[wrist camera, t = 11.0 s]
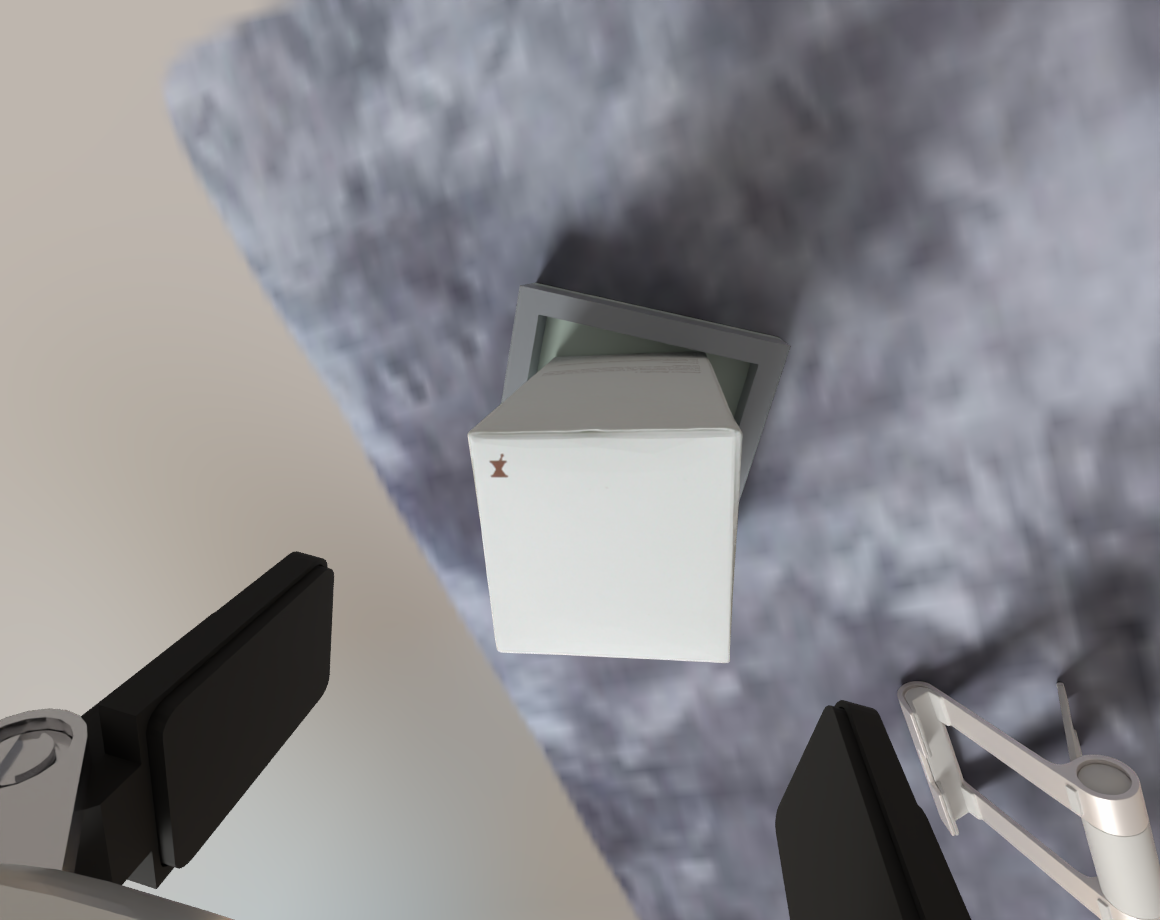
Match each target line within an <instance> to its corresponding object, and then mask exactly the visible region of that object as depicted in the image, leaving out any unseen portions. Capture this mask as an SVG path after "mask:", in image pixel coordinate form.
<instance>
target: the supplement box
mask: <svg viewBox="0 0 1160 920" xmlns="http://www.w3.org/2000/svg"><path fill="white" fill-rule="evenodd" d="M742 437H743V434H742V432H741V430H740V428H739V426H738V425H737V423H736V421H735V420H734V418H733V416H732V413H731V411H730V409H729V407H728V404H727V401H726V399H725V397H724V394H723V392H722V389H721V386H720V384H719V382H718V379H717V377H716V374H715V372H714V370H713V367H712V365H711V363H710V362H709V359H708V357H707V355H706V353H705V352H667V353H638V354H613V355H588V356H565V357H554V358H553V359H552V360H551V361H550V362H549V363H548V364H546V365H545V366H544V367H543V368H542V369H541V370H540V371H538V372H537V373H536V374H535V375H534V376H533V377H531V378H530V379H529V380H528V381H527V382H526V383H524V384H523V385H522V386H521V387H520V388H519V389H518V390H516V391H515V392H514V393H513V394H512V395H511V396H510V397H509V398H507V399H506V400H505V401H504V402H503V403H502V404H500V405H499V406H498V407H497V408H496V409H495V410H494V411H492V412H491V413H490V414H489V415H488V416H487V417H486V418H484V419H483V420H482V421H481V422H480V423H479V424H478V425H476V426H475V427H474V428H473V429H472V430H471V431H470V432H469V433H468V441H469V448H470V454H471V461H472V467H473V474H474V481H475V488H476V495H477V502H478V508H479V515H480V522H481V530H482V539H483V547H484V554H485V562H486V571H487V579H488V586H489V594H490V602H491V610H492V617H493V626H494V634H495V640H496V646H497V650H498V651H499V652H504V653H532V654H556V655H578V656H597V657H619V658H640V659H662V660H680V661H703V662H718V663H727V662H729V661H730V637H731V619H732V599H733V583H734V567H735V552H736V536H737V521H738V505H739V488H740V470H741V452H742Z"/></svg>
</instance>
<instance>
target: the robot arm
mask: <svg viewBox="0 0 1160 920" xmlns="http://www.w3.org/2000/svg"><path fill="white" fill-rule="evenodd" d="M333 585H334V572H333V570H332V569H329V568H328V567H327V562H326V560H324V559H323V558H319V557H315V556H312V555H308V554H304V553H301V552H292V553H291V554H289V555H288V556H286V557H285V558H284V559H283V560H281V561H280V562H279V563H277V564H276V565H275V566H274V567H273V568H271V569H270V570H268V571H267V572H266V573H265V574H263V575H262V576H261V577H260V578H258V579H257V580H256V581H254V582H253V583H252V584H251V585H249V586H248V587H247V588H246V589H244V590H243V591H242V592H240V593H239V594H238V595H237V596H235V597H234V598H233V599H231V600H230V601H229V602H228V603H226V604H225V605H224V606H223V607H221V608H220V609H219V610H217V611H216V612H215V613H213V614H211V615H210V616H209V617H208V618H206V619H205V620H204V621H202V622H201V623H200V624H199V625H197V626H196V627H195V628H194V629H192V630H191V631H190V632H188V633H187V634H186V635H185V636H183V637H182V638H181V639H180V640H178V641H177V642H176V643H174V644H173V645H172V646H170V647H169V648H168V649H167V650H165V651H164V652H163V653H161V654H160V655H159V656H158V657H156V658H155V659H154V660H153V661H151V662H150V663H149V664H147V665H146V666H145V667H144V668H142V669H141V670H140V671H138V672H137V673H136V674H135V675H134V676H132V677H131V678H130V679H128V680H127V681H126V682H124V683H123V684H122V685H121V686H119V687H118V688H117V689H115V690H114V691H113V692H112V693H110V694H109V695H108V696H107V697H105V698H104V699H103V700H102V701H100V702H99V703H98V704H96V705H95V706H94V707H92V709H90V710H89V711H87V712H86V713H85V714H84V715H82V716H81V717H80V716H79V715H77V714H75V713H72V712H70V711H67V710H60V709H41V710H32V711H27V712H23V713H20V714H16V715H12V716H9V717H6V718H4V719H1V720H0V920H233V919H230V918H227V917H224V916H221V915H218V914H215V913H212V912H209V911H205V910H202V909H199V908H195V907H192V906H189V905H185V904H182V903H179V902H175V901H172V900H169V899H165V898H162V897H159V896H155V895H152V894H149V893H145V892H142V891H138V890H135V889H132V888H129V887H125V886H122V884H123V883H124V882H125V881H126V880H130V881H133V882H136V883H140V884H142V885H146V886H148V887H152V888H154V889H157V888H158V887H159V885H160V884H161V883H162V882H163V881H164V879H165V878H166V877H167V876H168V874H169V873H170V872H171V871H172V870H173V868H174V867H176V868H182V867H184V866H185V865H186V864H188V863H189V861H190V860H191V859H192V858H193V857H194V856H195V855H196V853H197V852H198V851H199V850H200V848H201V847H202V846H203V845H204V843H205V842H206V841H207V840H208V838H209V837H210V836H211V835H212V833H213V832H214V831H215V830H216V828H217V827H218V826H219V825H220V823H221V822H222V821H223V820H224V818H225V817H226V816H227V815H228V813H229V812H230V811H231V810H232V808H233V807H234V806H235V805H236V803H237V802H238V801H239V800H240V798H241V797H242V796H243V794H244V793H245V792H246V791H247V790H248V788H249V787H250V785H252V783H253V782H254V781H255V779H256V778H257V777H258V776H259V775H260V773H261V772H262V771H263V769H264V768H265V767H266V766H267V765H268V763H269V762H270V761H271V759H272V758H273V757H274V756H275V755H276V753H277V752H278V751H279V749H280V748H281V747H282V746H283V745H284V743H285V742H286V741H287V739H288V738H289V737H290V736H291V735H292V733H293V732H294V731H295V730H296V728H297V727H298V726H299V724H300V723H301V722H302V721H303V719H304V718H305V717H306V716H307V714H308V713H309V712H310V710H311V709H312V708H313V707H314V706H315V704H316V703H317V702H318V701H319V699H320V698H321V697H322V695H323V694H324V692H325V690H326V687H327V685H328V681H329V675H330V651H331V631H332V608H333V587H334V586H333ZM775 828H776V836H777V842H778V848H779V854H780V860H781V867H782V873H783V879H784V885H785V891H786V897H787V903H788V910H789V916H790V920H971V918H970V916H969V913H968V911H967V909H966V906H965V904H964V902H963V899H962V897H961V895H960V893H959V890H958V888H957V886H956V883H955V881H954V879H953V876H952V874H951V872H950V869H949V867H948V865H947V862H946V860H945V858H944V855H943V853H942V851H941V849H940V846H939V844H938V842H937V839H936V837H935V835H934V832H933V830H932V828H931V825H930V823H929V821H928V819H927V817H926V815H925V813H924V812H923V810H922V808H920V807H919V806H918V805H917V802H916V800H915V798H914V795H913V793H912V791H911V788H910V786H909V783H908V781H907V779H906V776H905V774H904V772H903V769H902V767H901V765H900V762H899V760H898V758H897V755H896V753H895V751H894V748H893V746H892V743H891V741H890V739H889V736H888V734H887V732H886V729H885V727H884V725H883V722H882V720H881V718H880V715H879V714H878V712H877V711H876V710H875V709H873V708H870V707H866V706H862V705H859V704H855V703H851V702H848V701H844V700H840V701H839V702H837V703H836V705H835V706H827V707H825V709H824V710H823V712H822V715H821V717H820V719H819V721H818V723H817V725H816V727H815V730H814V732H813V734H812V736H811V738H810V740H809V742H808V745H807V747H806V749H805V751H804V753H803V755H802V757H801V760H800V762H799V764H798V766H797V768H796V770H795V772H794V774H793V777H792V779H791V781H790V783H789V785H788V787H787V789H786V792H785V794H784V796H783V798H782V800H781V802H780V804H779V807H778V809H777V814H776V821H775Z"/></svg>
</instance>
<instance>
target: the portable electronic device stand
mask: <svg viewBox="0 0 1160 920" xmlns="http://www.w3.org/2000/svg"><path fill="white" fill-rule="evenodd" d="M1057 688H1058V694H1059V701H1060V706H1061V712H1062V718H1063V723H1064V729H1065V734H1066V740H1067V745H1068V751H1069V757H1070V762H1069V763H1066V764H1054V763H1052V762H1049V761H1047V760H1046V759H1044V758H1042V757H1041V756H1039V755H1038V754H1036V753H1035V752H1033V751H1032V750H1030V749H1028V748H1027V747H1025V746H1024V745H1022V744H1021V743H1019V742H1018V741H1016V740H1015V739H1013V738H1012V737H1010V736H1009V735H1007V734H1006V733H1004V732H1003V731H1001V730H1000V729H998V728H996V727H995V726H993V725H992V724H990V723H989V722H987V721H986V720H984V719H983V718H981V717H980V716H978V715H977V714H975V713H974V712H972V711H971V710H969V709H968V708H966V707H964V706H963V705H961V704H960V703H958V702H957V701H955V700H954V699H952V698H951V697H949V696H948V695H946V694H945V693H943V692H942V691H940V690H939V689H937V688H935V687H934V686H932V685H931V684H929V683H926V682H921V681H913V682H908V683H906V684H904V685H902V686H901V687H900V688H899V690H898V692H897V696H898V699H899V702H900V705H901V708H902V711H903V714H904V716H905V719H906V722H907V725H908V728H909V730H910V733H911V736H912V739H913V742H914V744H915V747H916V750H917V753H918V756H919V759H920V761H921V764H922V767H923V770H924V773H925V775H926V778H927V781H928V784H929V787H930V790H931V792H932V795H933V798H934V801H935V804H936V806H937V809H938V812H939V815H940V818H941V819H942V821H943V822H944V824H945V825H946V827H947V828H948V830H949V831H950V833H951V834H952V836H954V835H955V833H956V835H958V834H959V831H958V828H957V825H956V822H955V821H956V820H957V819H959V818H960V817H962V816H964V815H965V814H967V813H968V812H970V813H971V814H972V815H974V816H975V817H976V818H978V819H980V820H984V821H985V822H986V823H987V824H988V825H990V826H991V827H992V828H993V829H994V830H995V831H997V832H998V833H999V834H1000V835H1001V836H1003V837H1004V838H1005V839H1006V840H1007V841H1009V842H1010V843H1011V844H1012V845H1013V846H1014V847H1016V848H1017V849H1018V850H1019V851H1020V852H1022V853H1023V854H1024V855H1025V856H1026V857H1027V858H1029V859H1030V860H1031V861H1032V862H1033V863H1035V864H1036V865H1037V866H1038V867H1039V868H1040V869H1042V870H1043V871H1044V872H1045V873H1046V874H1048V875H1049V876H1050V877H1051V878H1052V879H1054V880H1055V881H1056V882H1057V883H1058V884H1059V885H1061V886H1062V887H1063V888H1064V889H1065V890H1067V891H1068V892H1069V893H1070V894H1071V895H1072V896H1074V897H1075V898H1076V899H1077V900H1078V901H1080V902H1081V903H1082V904H1083V905H1084V906H1086V907H1087V908H1088V909H1089V910H1090V911H1092V912H1093V913H1094V914H1095V915H1096V916H1098V917H1099V918H1100V919H1101V920H1160V865H1159V861H1158V856H1157V852H1156V848H1155V844H1154V839H1153V835H1152V831H1151V827H1150V823H1149V819H1148V814H1147V810H1146V806H1145V802H1144V797H1143V793H1142V789H1141V785H1140V781H1139V778H1138V776H1137V774H1136V773H1135V772H1134V771H1133V770H1132V769H1131V768H1130V767H1129V766H1127V765H1126V764H1124V763H1123V762H1121V761H1119V760H1117V759H1114V758H1111V757H1108V756H1103V755H1085V756H1082V752H1081V748H1080V744H1079V740H1078V736H1077V732H1076V730H1074V728H1073V724H1072V720H1071V715H1070V710H1069V703H1068V698H1067V695H1066V691H1065V687H1064V684H1063V683H1057ZM945 725H947V726H953V727H954V728H956V729H957V730H959V731H960V732H961V733H963V734H964V735H966V736H967V737H968V738H970V739H971V740H973V741H974V742H975V743H977V744H978V745H980V746H981V747H982V748H984V749H985V750H987V751H988V752H989V753H991V754H992V755H994V756H995V757H997V758H998V759H999V760H1001V761H1002V762H1004V763H1005V764H1006V765H1008V766H1009V767H1011V768H1012V769H1013V770H1015V771H1016V772H1018V773H1019V774H1020V775H1022V776H1023V777H1025V778H1026V779H1027V780H1029V781H1030V782H1032V783H1033V784H1035V785H1036V786H1037V787H1039V788H1040V789H1042V790H1043V791H1044V792H1046V793H1047V794H1049V795H1050V796H1051V797H1053V798H1054V799H1056V800H1057V801H1059V802H1060V803H1062V804H1063V805H1064V806H1066V807H1067V808H1069V809H1070V810H1072V811H1073V812H1074V813H1076V814H1077V815H1079V816H1080V817H1081V819H1082V822H1083V826H1084V829H1085V833H1086V837H1087V840H1088V844H1089V848H1090V851H1091V855H1092V858H1093V862H1094V866H1095V869H1096V873H1097V877H1088V876H1085V875H1083V874H1082V873H1080V872H1078V871H1077V870H1076V869H1074V868H1073V867H1072V866H1071V865H1069V864H1068V863H1067V862H1066V861H1064V860H1063V859H1062V858H1061V857H1059V856H1058V855H1057V854H1056V853H1054V852H1053V851H1052V850H1051V849H1049V848H1048V847H1047V846H1046V845H1044V844H1043V843H1042V842H1041V841H1039V840H1038V839H1037V838H1035V837H1034V836H1033V835H1032V834H1030V833H1029V832H1028V831H1027V830H1025V829H1024V828H1023V827H1022V826H1020V825H1019V824H1018V823H1017V822H1015V821H1014V820H1013V819H1012V818H1010V817H1009V816H1008V815H1007V814H1005V813H1004V812H1003V811H1002V810H1000V809H999V808H998V807H997V806H995V805H994V804H993V803H992V802H990V801H989V800H988V799H987V798H985V797H984V796H983V795H982V794H980V793H979V792H978V791H977V790H975V789H974V788H973V787H972V786H970V785H969V784H968V783H967V782H965V780H964V779H963V776H962V773H961V770H960V767H959V764H958V761H957V759H956V756H955V753H954V750H953V747H952V744H951V741H950V738H949V735H948V732H947V729H946V726H945Z"/></svg>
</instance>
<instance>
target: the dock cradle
mask: <svg viewBox="0 0 1160 920" xmlns="http://www.w3.org/2000/svg"><path fill="white" fill-rule="evenodd" d="M789 349H790V346H789V345H788V344H787V343H785V342H784V341H783V340H782V339H780V338H779V337H776V336H772V335H767V334H763V333H758V332H754V331H749V330H745V329H740V328H736V327H731V326H727V325H722V324H718V323H713V322H709V321H704V320H700V319H696V318H691V317H687V316H682V315H678V314H673V313H669V312H664V311H660V310H655V309H651V308H646V307H642V306H637V305H633V304H628V303H624V302H619V301H615V300H611V299H606V298H602V297H597V296H593V295H588V294H584V293H579V292H575V291H570V290H566V289H561V288H557V287H552V286H548V285H543V284H539V283H532V284H526V285H520V288H519V295H518V301H517V307H516V314H515V320H514V326H513V332H512V339H511V345H510V351H509V358H508V364H507V370H506V377H505V383H504V389H503V396H502V402H501V404H502V403H503V402H504V401H505V400H506V399H507V398H509V397H510V396H511V395H512V394H513V393H514V392H515V391H516V390H518V389H519V388H520V387H521V386H522V385H523V384H524V383H526V382H527V381H528V380H529V379H530V378H531V377H533V376H534V375H535V374H536V373H537V372H538V371H540V370H541V369H542V368H543V367H544V366H545V365H546V364H548V363H549V362H550V361H551V360H552V359H553V358H554V357H565V356H588V355H613V354H638V353H667V352H705V353H706V355H707V357H708V359H709V362H710V363H711V365H712V367H713V370H714V372H715V374H716V377H717V379H718V382H719V384H720V386H721V389H722V392H723V394H724V397H725V399H726V401H727V404H728V407H729V409H730V411H731V413H732V416H733V418H734V420H735V421H736V423H737V425H738V426H739V428H740V430H741V432H742V434H743V437H742V452H741V470H740V488H739V500H740V497H741V494H742V491H743V488H744V485H745V482H746V479H747V476H748V473H749V470H750V467H751V464H752V461H753V458H754V455H755V452H756V449H757V446H758V443H759V440H760V437H761V434H762V431H763V428H764V425H765V422H766V419H767V416H768V413H769V410H770V407H771V404H772V401H773V398H774V395H775V392H776V389H777V386H778V383H779V380H780V377H781V374H782V371H783V367H784V364H785V361H786V358H787V355H788V352H789Z"/></svg>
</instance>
